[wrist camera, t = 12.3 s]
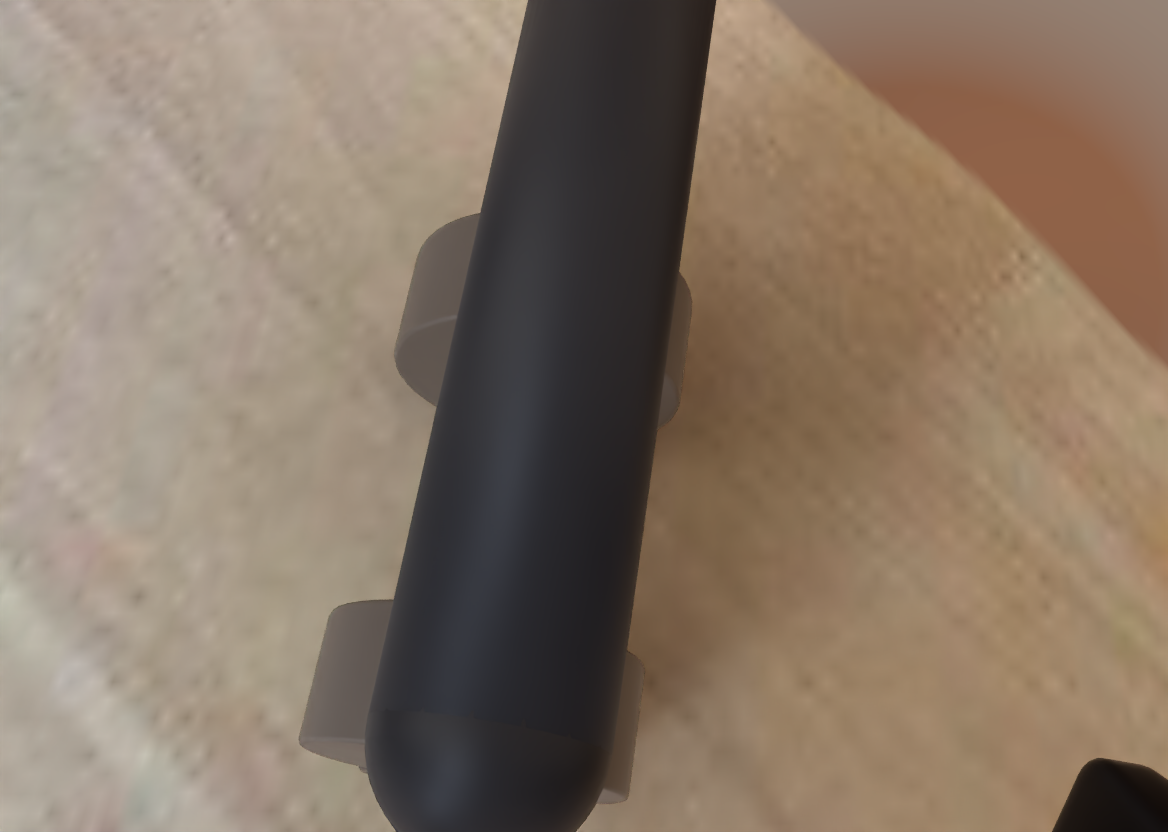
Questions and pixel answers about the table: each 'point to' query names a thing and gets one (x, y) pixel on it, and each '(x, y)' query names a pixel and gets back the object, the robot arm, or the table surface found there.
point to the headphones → (533, 443)
